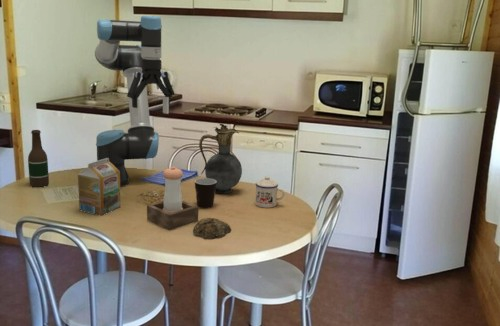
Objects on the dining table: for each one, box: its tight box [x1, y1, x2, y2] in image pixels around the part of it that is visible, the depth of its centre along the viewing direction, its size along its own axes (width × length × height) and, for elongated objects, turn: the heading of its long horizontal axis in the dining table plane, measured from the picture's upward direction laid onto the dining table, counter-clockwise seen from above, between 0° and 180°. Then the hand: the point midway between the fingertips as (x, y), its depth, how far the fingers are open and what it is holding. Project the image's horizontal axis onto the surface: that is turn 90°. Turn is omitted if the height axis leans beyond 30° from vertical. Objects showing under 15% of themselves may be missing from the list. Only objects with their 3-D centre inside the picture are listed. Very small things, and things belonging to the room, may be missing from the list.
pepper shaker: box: [163, 165, 183, 213], centre depth 171 cm, size 7×7×19 cm
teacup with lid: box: [254, 175, 286, 209], centre depth 194 cm, size 12×9×12 cm
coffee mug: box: [194, 177, 217, 209], centre depth 191 cm, size 12×9×10 cm
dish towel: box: [139, 167, 199, 187], centre depth 225 cm, size 17×24×3 cm
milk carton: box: [77, 158, 122, 217], centre depth 180 cm, size 11×11×19 cm
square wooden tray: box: [146, 200, 199, 231], centre depth 173 cm, size 13×13×6 cm
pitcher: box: [198, 123, 243, 195], centre depth 206 cm, size 11×19×30 cm, turn 76°
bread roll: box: [192, 217, 232, 240], centre depth 165 cm, size 13×12×5 cm
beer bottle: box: [27, 129, 50, 188], centre depth 203 cm, size 8×8×24 cm
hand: (151, 114), depth 186 cm, fingers open, 13 cm apart
